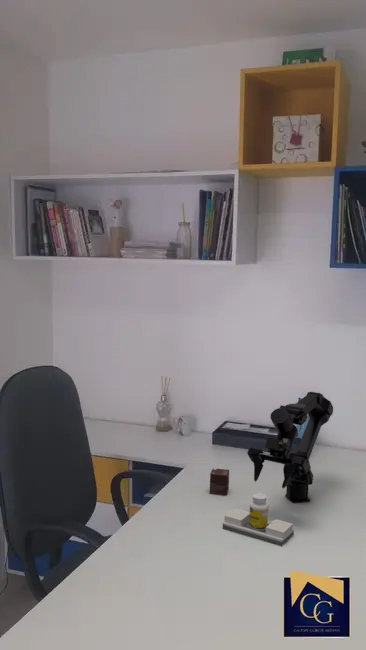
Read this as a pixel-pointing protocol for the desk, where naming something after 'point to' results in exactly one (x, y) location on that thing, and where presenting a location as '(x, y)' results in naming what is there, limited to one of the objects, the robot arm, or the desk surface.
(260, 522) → the supplement bottle
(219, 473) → the box
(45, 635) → the desk surface
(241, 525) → the rail plate
